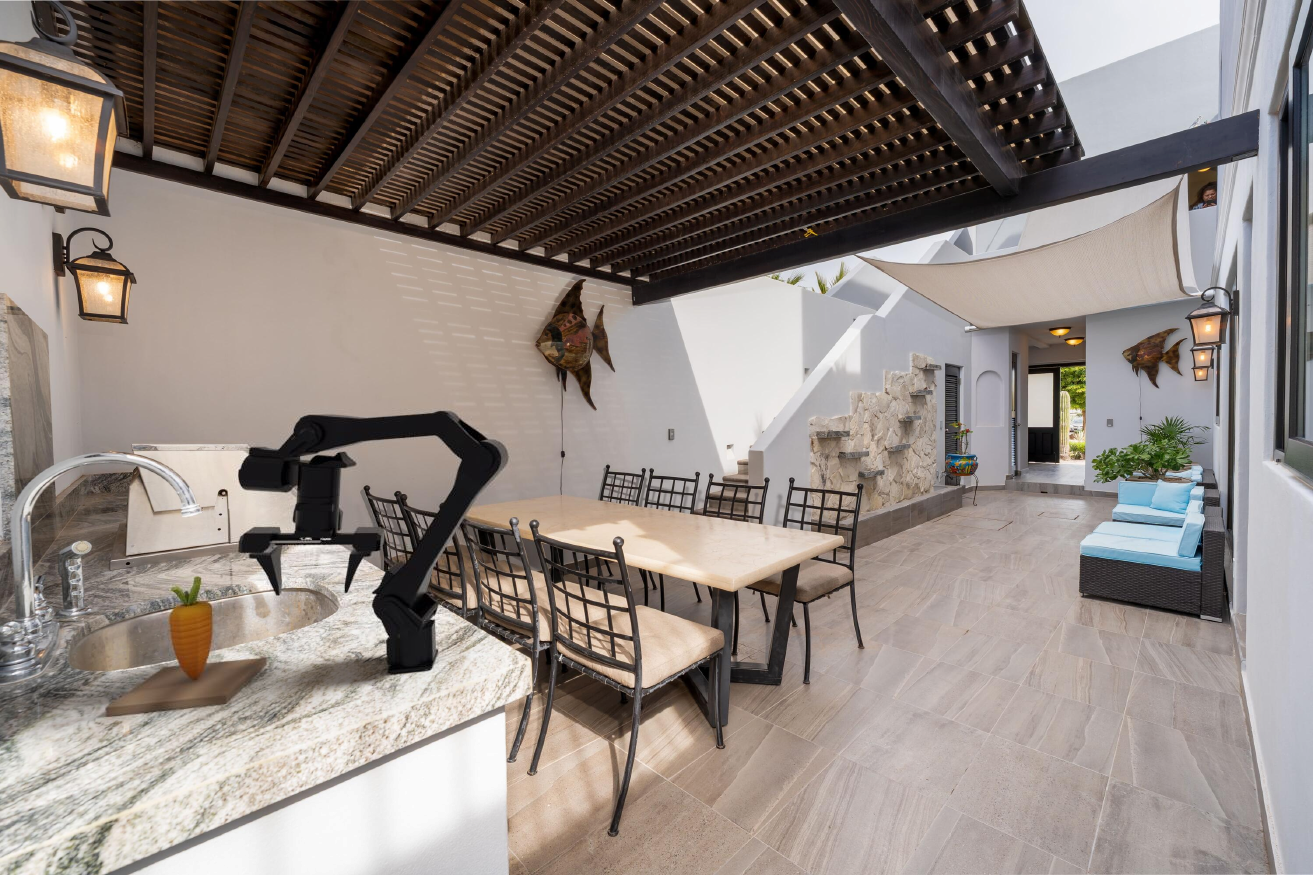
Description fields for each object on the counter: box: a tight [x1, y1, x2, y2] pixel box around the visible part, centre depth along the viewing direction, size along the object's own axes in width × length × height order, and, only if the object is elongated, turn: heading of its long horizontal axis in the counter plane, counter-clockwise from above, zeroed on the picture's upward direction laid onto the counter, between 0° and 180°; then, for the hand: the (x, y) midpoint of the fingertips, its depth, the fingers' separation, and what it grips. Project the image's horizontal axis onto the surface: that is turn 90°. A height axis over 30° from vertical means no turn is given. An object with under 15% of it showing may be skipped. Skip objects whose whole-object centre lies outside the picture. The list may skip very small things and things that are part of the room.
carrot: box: [168, 575, 214, 680], centre depth 81 cm, size 5×5×15 cm
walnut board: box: [105, 657, 268, 717], centre depth 81 cm, size 14×12×1 cm
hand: (313, 593), depth 87 cm, fingers open, 9 cm apart
